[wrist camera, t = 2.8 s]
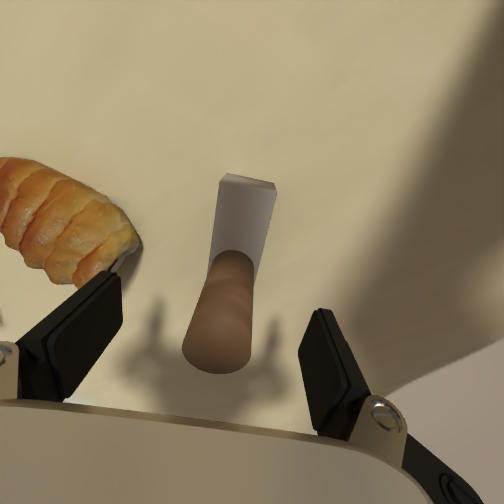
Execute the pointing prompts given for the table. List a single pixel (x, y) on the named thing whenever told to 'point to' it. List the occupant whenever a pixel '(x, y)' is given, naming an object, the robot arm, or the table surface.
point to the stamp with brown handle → (230, 276)
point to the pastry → (61, 223)
